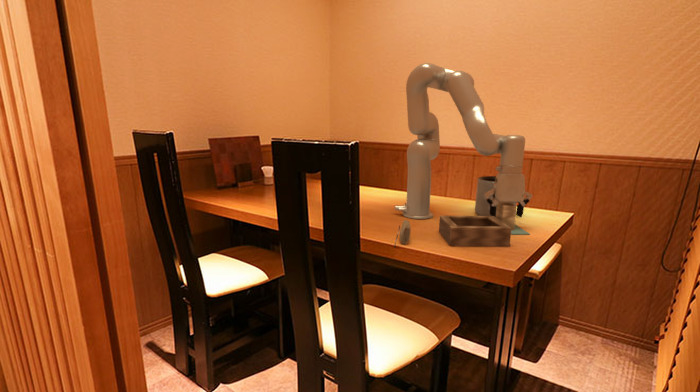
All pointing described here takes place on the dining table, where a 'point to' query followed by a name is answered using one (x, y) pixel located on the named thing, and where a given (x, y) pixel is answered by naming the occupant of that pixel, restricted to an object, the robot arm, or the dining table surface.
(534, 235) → the dining table surface
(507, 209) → the beech block
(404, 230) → the cuneiform tablet
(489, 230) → the box
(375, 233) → the dining table surface
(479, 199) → the planter
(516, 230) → the mat
